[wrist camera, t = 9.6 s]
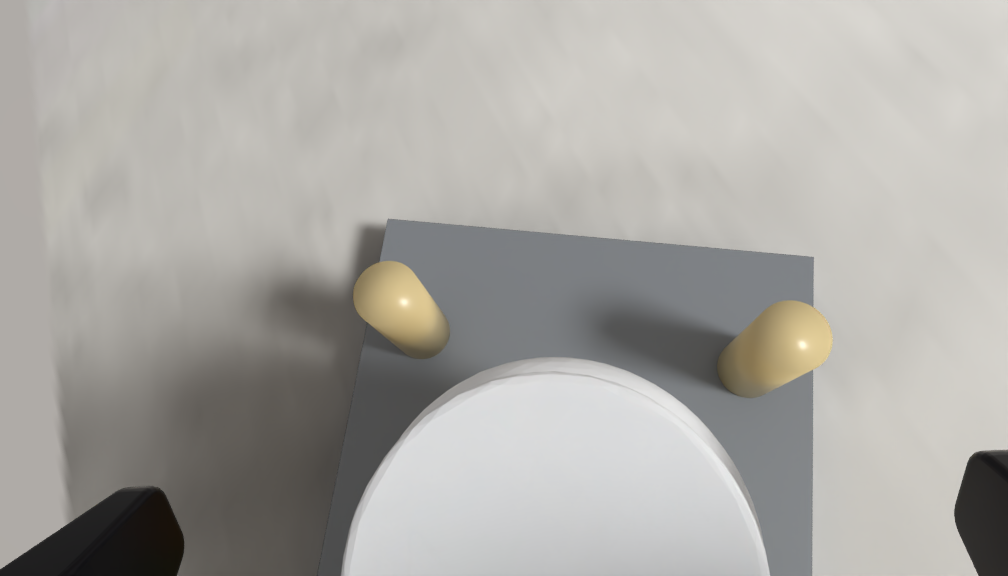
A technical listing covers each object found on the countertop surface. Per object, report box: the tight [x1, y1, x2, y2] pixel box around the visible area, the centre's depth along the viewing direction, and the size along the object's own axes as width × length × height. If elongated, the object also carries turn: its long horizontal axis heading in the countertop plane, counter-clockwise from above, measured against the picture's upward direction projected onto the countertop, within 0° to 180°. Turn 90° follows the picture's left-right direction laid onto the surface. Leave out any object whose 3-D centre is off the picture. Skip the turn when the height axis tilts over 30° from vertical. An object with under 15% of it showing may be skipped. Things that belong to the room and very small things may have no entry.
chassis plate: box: [317, 219, 832, 576], centre depth 14 cm, size 14×11×5 cm
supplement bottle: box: [341, 357, 770, 576], centre depth 11 cm, size 5×5×10 cm
